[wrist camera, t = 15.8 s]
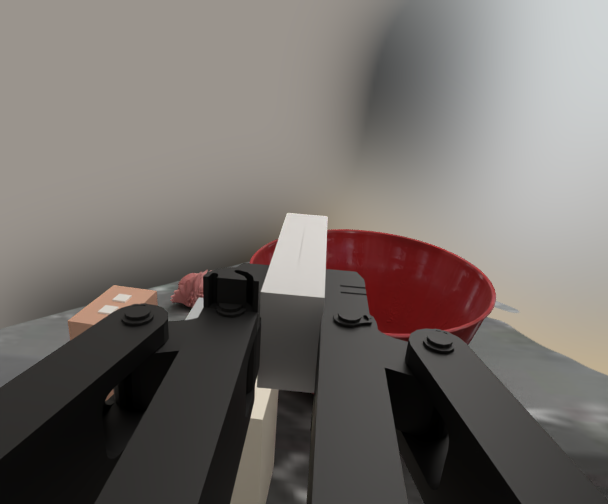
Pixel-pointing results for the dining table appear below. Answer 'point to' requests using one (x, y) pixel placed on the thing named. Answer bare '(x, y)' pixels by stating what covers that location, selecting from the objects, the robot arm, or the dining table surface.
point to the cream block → (258, 450)
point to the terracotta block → (108, 308)
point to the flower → (189, 289)
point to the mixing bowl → (408, 282)
